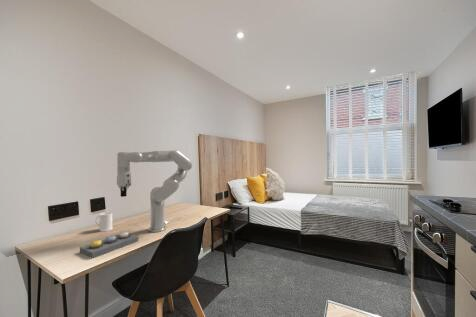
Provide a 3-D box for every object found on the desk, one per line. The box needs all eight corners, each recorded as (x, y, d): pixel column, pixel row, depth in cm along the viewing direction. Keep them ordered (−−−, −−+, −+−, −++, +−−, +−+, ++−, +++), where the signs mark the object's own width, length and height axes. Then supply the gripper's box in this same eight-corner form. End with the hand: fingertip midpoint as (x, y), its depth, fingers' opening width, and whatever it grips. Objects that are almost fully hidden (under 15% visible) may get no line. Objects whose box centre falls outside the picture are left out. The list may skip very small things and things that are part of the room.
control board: (125, 237, 135) (125, 232, 135) (138, 241, 128) (138, 236, 128) (79, 252, 112) (79, 246, 112) (92, 258, 105) (92, 252, 105)
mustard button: (98, 243, 117) (98, 239, 117) (103, 244, 114) (103, 241, 114) (88, 246, 112) (88, 242, 112) (93, 248, 110) (93, 244, 110)
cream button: (125, 234, 130) (125, 231, 130) (130, 235, 128) (130, 232, 128) (117, 236, 126) (117, 233, 126) (122, 238, 124) (122, 235, 124)
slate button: (112, 238, 123) (112, 235, 124) (117, 239, 121) (117, 236, 121) (104, 241, 119) (104, 237, 119) (108, 242, 117) (108, 239, 117)
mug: (91, 231, 146) (92, 215, 146) (100, 227, 155) (100, 212, 155) (107, 231, 146) (107, 215, 146) (115, 227, 154) (115, 212, 154)
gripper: (135, 169, 138) (135, 196, 138) (122, 169, 145) (122, 194, 145) (124, 170, 131) (124, 198, 131) (112, 169, 139) (111, 196, 138)
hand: (123, 196), depth 138 cm, fingers closed
